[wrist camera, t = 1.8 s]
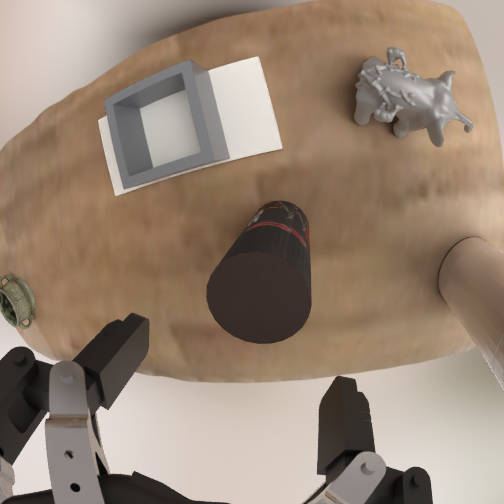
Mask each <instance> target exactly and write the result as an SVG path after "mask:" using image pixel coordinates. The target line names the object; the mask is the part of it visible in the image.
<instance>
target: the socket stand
mask: <svg viewBox="0 0 504 504" xmlns="http://www.w3.org/2000/svg"><path fill="white" fill-rule="evenodd" d="M104 103H105V109H106V114H107V116H105V117H103V118H101V119H99V120H98V122H99V128H100V133H101V138H102V143H103V147H104V152H105V156H106V161H107V165H108V169H109V173H110V177H111V181H112V185H113V188H114V192H115V196H118V195H121V194H124V193H127V192H130V191H132V190H135V189H138V188H141V187H144V186H147V185H150V184H153V183H156V182H159V181H162V180H165V179H168V178H172V177H175V176H178V175H181V174H185V173H188V172H192V171H195V170H198V169H202V168H206V167H209V166H213V165H217V164H220V163H224V162H228V161H232V160H236V159H240V158H244V157H248V156H252V155H257V154H261V153H266V152H270V151H275V150H279V149H283V146H282V142H281V138H280V134H279V129H278V125H277V121H276V118H275V114H274V110H273V106H272V102H271V98H270V95H269V91H268V87H267V84H266V80H265V76H264V73H263V69H262V66H261V62H260V59H259V57H258V56H257V57H253V58H249V59H245V60H242V61H238V62H235V63H231V64H228V65H225V66H221V67H218V68H215V69H212V70H209V71H206V70H205V69H204V68H202V67H201V66H199V65H198V64H197V63H195V62H194V61H192V60H191V59H189V60H186V61H184V62H181V63H179V64H176V65H174V66H171V67H169V68H167V69H164V70H162V71H160V72H158V73H155V74H153V75H151V76H149V77H147V78H145V79H143V80H141V81H139V82H137V83H135V84H133V85H131V86H129V87H127V88H125V89H123V90H121V91H119V92H117V93H116V94H114V95H112V96H110V97H108V98H107V99H105V100H104Z"/></svg>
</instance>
